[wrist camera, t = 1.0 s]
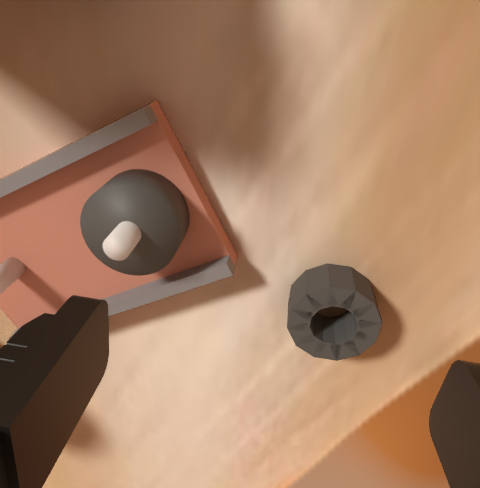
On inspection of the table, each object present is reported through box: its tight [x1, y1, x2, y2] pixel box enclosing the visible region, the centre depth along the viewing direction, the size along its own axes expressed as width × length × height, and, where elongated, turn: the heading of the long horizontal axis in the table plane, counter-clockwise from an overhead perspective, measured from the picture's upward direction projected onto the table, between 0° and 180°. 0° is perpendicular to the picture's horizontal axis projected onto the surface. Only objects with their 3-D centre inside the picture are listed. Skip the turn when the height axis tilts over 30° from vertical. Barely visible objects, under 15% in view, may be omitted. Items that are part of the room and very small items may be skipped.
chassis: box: [0, 100, 238, 339], centre depth 28 cm, size 20×12×6 cm, turn 114°
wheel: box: [287, 264, 382, 360], centre depth 30 cm, size 6×6×3 cm
